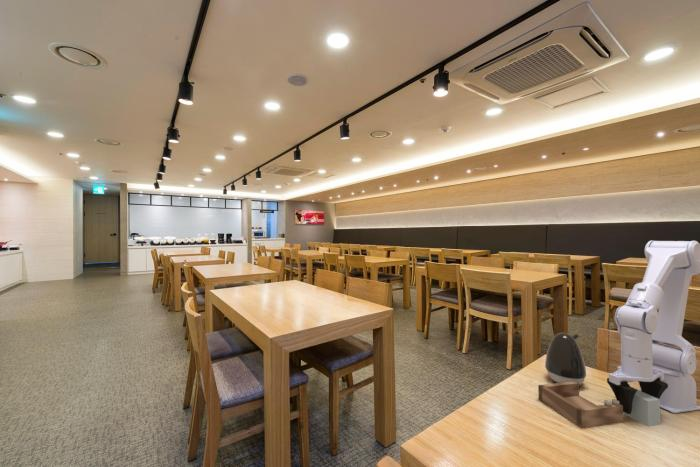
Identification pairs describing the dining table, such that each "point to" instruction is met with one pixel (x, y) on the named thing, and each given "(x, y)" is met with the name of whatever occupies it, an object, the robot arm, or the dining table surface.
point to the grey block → (645, 409)
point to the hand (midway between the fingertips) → (637, 410)
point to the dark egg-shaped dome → (565, 359)
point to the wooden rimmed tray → (579, 405)
